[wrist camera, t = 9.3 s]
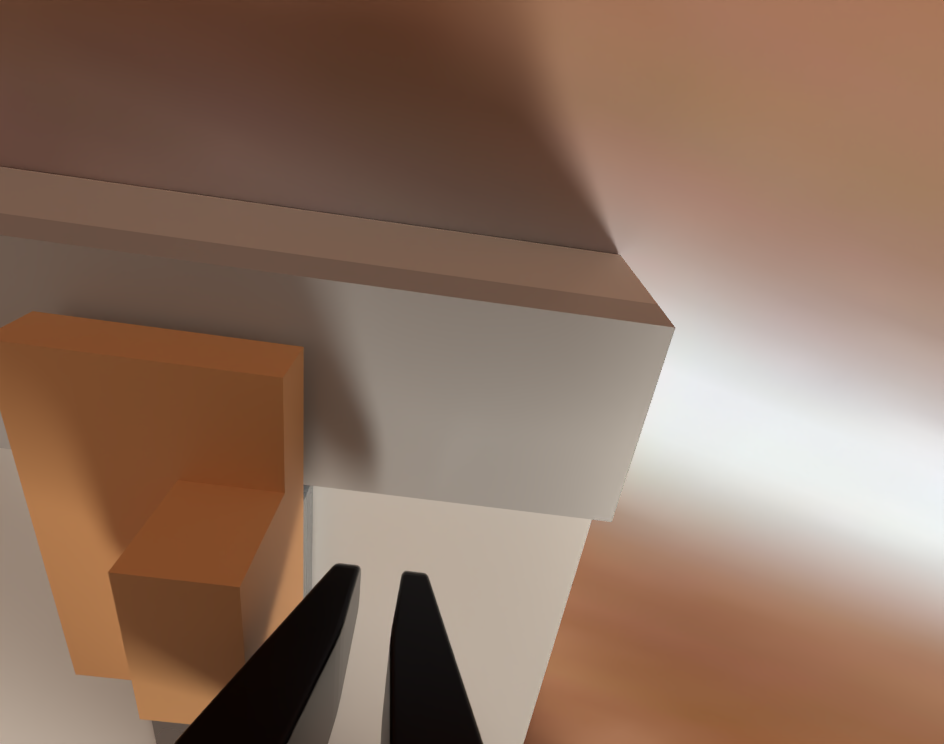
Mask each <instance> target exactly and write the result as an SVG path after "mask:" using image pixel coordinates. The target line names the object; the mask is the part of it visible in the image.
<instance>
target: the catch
mask: <svg viewBox="0 0 944 744" xmlns="http://www.w3.org/2000/svg"><path fill="white" fill-rule="evenodd" d="M0 412H1V415H2V419H3V422H4V426H5V429H6V433H7V436H8V440H9V443H10V447H11V450H12V454H13V457H14V461H15V464H16V468H17V471H18V475H19V478H20V482H21V485H22V489H23V492H24V496H25V499H26V503H27V506H28V510H29V513H30V517H31V520H32V524H33V527H34V531H35V534H36V538H37V541H38V545H39V548H40V552H41V555H42V559H43V562H44V566H45V569H46V573H47V576H48V580H49V583H50V587H51V590H52V594H53V597H54V601H55V604H56V608H57V611H58V615H59V618H60V622H61V625H62V629H63V632H64V636H65V639H66V643H67V646H68V650H69V653H70V657H71V660H72V664H73V667H74V671H75V674H76V675H86V676H95V677H105V678H115V679H124V680H131V681H132V685H133V690H134V695H135V699H136V704H137V708H138V713H139V718H140V719H142V720H152V721H162V722H172V723H182V724H191V723H192V722H193V721H194V720H195V719H196V718H197V717H198V716H199V714H200V713H201V712H202V711H203V710H204V709H205V708H206V707H207V706H208V704H209V703H210V702H211V701H212V700H213V699H214V698H215V697H216V695H217V694H218V693H219V692H220V691H221V690H222V689H223V688H224V687H225V685H226V684H227V683H228V682H229V681H230V680H231V679H232V678H233V677H234V675H235V674H236V673H237V672H238V671H239V670H240V669H241V668H242V667H243V665H244V664H245V663H246V662H247V661H248V660H249V659H250V658H251V656H252V655H253V654H254V653H255V652H256V651H257V650H258V649H259V648H260V646H261V645H262V644H263V643H264V642H265V641H266V640H267V639H268V638H269V636H270V635H271V634H272V633H273V632H274V631H275V630H276V629H277V628H278V626H279V625H280V624H281V623H282V622H283V621H284V620H285V619H286V617H287V616H288V615H289V614H290V613H291V612H292V611H293V610H294V609H295V607H296V606H297V605H298V604H299V603H300V602H301V601H302V600H303V467H304V347H302V346H294V345H286V344H279V343H271V342H264V341H256V340H248V339H241V338H233V337H226V336H218V335H210V334H203V333H195V332H188V331H180V330H172V329H165V328H157V327H150V326H142V325H135V324H127V323H119V322H112V321H104V320H97V319H89V318H81V317H74V316H66V315H59V314H51V313H43V312H36V311H32V312H30V313H28V314H26V315H24V316H22V317H20V318H18V319H16V320H15V321H13V322H11V323H9V324H7V325H5V326H3V327H1V328H0Z"/></svg>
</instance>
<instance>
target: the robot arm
mask: <svg viewBox="0 0 944 744" xmlns="http://www.w3.org/2000/svg"><path fill="white" fill-rule="evenodd" d="M360 581H361V568H360V567H359V566H358V565H353V564H344V563H337V564H335V565H333V566H332V567H331V568H330V570H329V571H328V572H327V573H326V574H325V575H324V576H323V577H322V578H321V580H320V581H319V582H318V583H317V584H316V585H315V586H314V587H313V588H312V590H311V591H310V592H309V593H308V594H307V595H306V596H305V597H304V599H303V600H302V601H301V602H300V603H299V604H298V605H297V606H296V607H295V609H294V610H293V611H292V612H291V613H290V614H289V615H288V616H287V617H286V619H285V620H284V621H283V622H282V623H281V624H280V625H279V626H278V628H277V629H276V630H275V631H274V632H273V633H272V634H271V635H270V636H269V638H268V639H267V640H266V641H265V642H264V643H263V644H262V645H261V646H260V648H259V649H258V650H257V651H256V652H255V653H254V654H253V655H252V656H251V658H250V659H249V660H248V661H247V662H246V663H245V664H244V665H243V667H242V668H241V669H240V670H239V671H238V672H237V673H236V674H235V675H234V677H233V678H232V679H231V680H230V681H229V682H228V683H227V684H226V685H225V687H224V688H223V689H222V690H221V691H220V692H219V693H218V694H217V695H216V697H215V698H214V699H213V700H212V701H211V702H210V703H209V704H208V706H207V707H206V708H205V709H204V710H203V711H202V712H201V713H200V714H199V716H198V717H197V718H196V719H195V720H194V721H193V722H192V723H191V724H190V726H189V727H188V728H187V729H186V730H185V731H184V732H183V733H182V734H181V736H180V737H179V738H178V739H177V740H176V741H175V743H174V744H328V742H329V739H330V735H331V732H332V729H333V726H334V722H335V719H336V715H337V712H338V708H339V703H340V699H341V694H342V689H343V684H344V679H345V674H346V669H347V664H348V659H349V654H350V649H351V644H352V639H353V634H354V629H355V624H356V619H357V614H358V608H359V597H360ZM381 744H483V741H482V738H481V735H480V732H479V729H478V726H477V723H476V720H475V717H474V714H473V711H472V708H471V705H470V702H469V699H468V695H467V692H466V689H465V686H464V683H463V680H462V677H461V674H460V671H459V668H458V665H457V662H456V659H455V656H454V653H453V650H452V647H451V644H450V641H449V637H448V634H447V631H446V628H445V625H444V622H443V619H442V616H441V613H440V610H439V607H438V604H437V601H436V598H435V595H434V592H433V589H432V586H431V583H430V580H429V577H428V575H427V574H426V573H422V572H413V571H404V572H403V573H402V575H401V580H400V585H399V591H398V596H397V601H396V607H395V612H394V618H393V623H392V629H391V636H390V645H389V655H388V665H387V674H386V684H385V694H384V703H383V713H382V726H381Z"/></svg>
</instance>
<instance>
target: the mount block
mask: <svg viewBox="0 0 944 744" xmlns="http://www.w3.org/2000/svg"><path fill="white" fill-rule="evenodd" d="M32 311H36V312H43V313H51V314H59V315H66V316H74V317H81V318H89V319H97V320H104V321H112V322H119V323H127V324H135V325H142V326H150V327H157V328H165V329H172V330H180V331H188V332H195V333H203V334H210V335H218V336H226V337H233V338H241V339H248V340H256V341H264V342H271V343H279V344H286V345H294V346H302V347H304V467H303V485H311V486H313V530H312V588H313V587H314V586H315V585H316V584H317V583H318V582H319V581H320V580H321V578H322V577H323V576H324V575H325V574H326V573H327V572H328V571H329V570H330V568H331V567H332V566H333V565H335V564H337V563H344V564H353V565H358V566H359V567H360V568H361V581H360V597H359V608H358V614H357V619H356V624H355V629H354V634H353V639H352V644H351V649H350V654H349V659H348V664H347V669H346V674H345V679H344V684H343V689H342V694H341V699H340V703H339V708H338V712H337V715H336V719H335V722H334V726H333V729H332V732H331V735H330V739H329V742H328V744H381V726H382V713H383V703H384V694H385V684H386V674H387V665H388V655H389V645H390V636H391V629H392V623H393V618H394V612H395V607H396V601H397V596H398V591H399V585H400V580H401V575H402V573H403V572H404V571H413V572H422V573H426V574H427V575H428V577H429V580H430V583H431V586H432V589H433V592H434V595H435V598H436V601H437V604H438V607H439V610H440V613H441V616H442V619H443V622H444V625H445V628H446V631H447V634H448V637H449V641H450V644H451V647H452V650H453V653H454V656H455V659H456V662H457V665H458V668H459V671H460V674H461V677H462V680H463V683H464V686H465V689H466V692H467V695H468V699H469V702H470V705H471V708H472V711H473V714H474V717H475V720H476V723H477V726H478V729H479V732H480V735H481V738H482V741H483V744H523V743H524V740H525V737H526V733H527V730H528V727H529V724H530V720H531V717H532V714H533V710H534V707H535V704H536V701H537V697H538V694H539V691H540V688H541V684H542V681H543V678H544V674H545V671H546V668H547V665H548V661H549V658H550V655H551V652H552V648H553V645H554V642H555V638H556V635H557V632H558V629H559V625H560V622H561V619H562V616H563V612H564V609H565V606H566V602H567V599H568V596H569V593H570V589H571V586H572V583H573V580H574V576H575V573H576V570H577V566H578V563H579V560H580V557H581V553H582V550H583V547H584V544H585V540H586V537H587V534H588V530H589V527H590V524H591V521H592V520H600V521H608V522H612V519H613V516H614V513H615V510H616V507H617V504H618V501H619V498H620V495H621V492H622V489H623V486H624V483H625V479H626V476H627V473H628V470H629V467H630V464H631V461H632V458H633V455H634V452H635V449H636V446H637V443H638V440H639V437H640V434H641V431H642V428H643V424H644V421H645V418H646V415H647V412H648V409H649V406H650V403H651V400H652V397H653V394H654V391H655V388H656V385H657V382H658V379H659V376H660V372H661V369H662V366H663V363H664V360H665V357H666V354H667V351H668V348H669V345H670V342H671V339H672V336H673V333H674V330H675V327H674V325H673V324H672V323H671V321H670V320H669V319H668V318H667V316H666V315H665V314H664V312H663V311H662V310H661V308H660V307H659V306H658V304H657V303H656V302H655V300H654V299H653V298H652V296H651V295H650V294H649V292H648V291H647V290H646V288H645V287H644V286H643V284H642V283H641V282H640V280H639V279H638V278H637V277H636V275H635V274H634V273H633V271H632V270H631V269H630V267H629V266H628V265H627V263H626V262H625V261H624V259H623V258H622V257H621V255H618V254H611V253H604V252H597V251H590V250H583V249H576V248H569V247H562V246H555V245H548V244H541V243H534V242H527V241H520V240H513V239H506V238H499V237H492V236H485V235H478V234H471V233H464V232H457V231H450V230H443V229H436V228H429V227H421V226H414V225H407V224H400V223H393V222H386V221H379V220H372V219H365V218H358V217H351V216H344V215H337V214H330V213H323V212H316V211H309V210H302V209H295V208H288V207H281V206H274V205H267V204H260V203H253V202H246V201H239V200H232V199H225V198H218V197H211V196H204V195H197V194H190V193H183V192H176V191H169V190H162V189H155V188H148V187H141V186H134V185H127V184H120V183H113V182H106V181H98V180H91V179H84V178H77V177H70V176H63V175H56V174H49V173H42V172H35V171H28V170H21V169H14V168H7V167H0V328H1V327H3V326H5V325H7V324H9V323H11V322H13V321H15V320H16V319H18V318H20V317H22V316H24V315H26V314H28V313H30V312H32ZM0 744H156V740H155V735H154V730H153V725H152V720H142V719H140V718H139V713H138V708H137V704H136V699H135V695H134V690H133V685H132V681H131V680H124V679H115V678H105V677H95V676H86V675H76V674H75V671H74V667H73V664H72V660H71V657H70V653H69V650H68V646H67V643H66V639H65V636H64V632H63V629H62V625H61V622H60V618H59V615H58V611H57V608H56V604H55V601H54V597H53V594H52V590H51V587H50V583H49V580H48V576H47V573H46V569H45V566H44V562H43V559H42V555H41V552H40V548H39V545H38V541H37V538H36V534H35V531H34V527H33V524H32V520H31V517H30V513H29V510H28V506H27V503H26V499H25V496H24V492H23V489H22V485H21V482H20V478H19V475H18V471H17V468H16V464H15V461H14V457H13V454H12V450H11V447H10V443H9V440H8V436H7V433H6V429H5V426H4V422H3V419H2V415H1V412H0Z"/></svg>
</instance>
